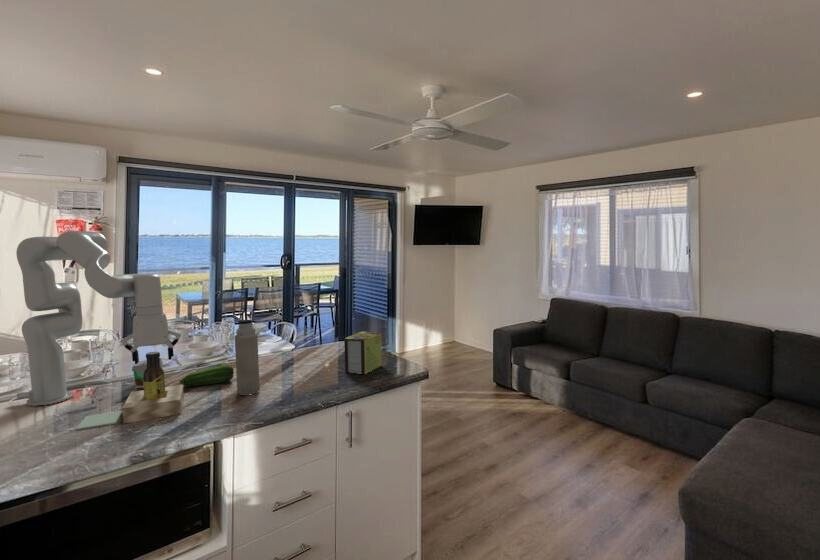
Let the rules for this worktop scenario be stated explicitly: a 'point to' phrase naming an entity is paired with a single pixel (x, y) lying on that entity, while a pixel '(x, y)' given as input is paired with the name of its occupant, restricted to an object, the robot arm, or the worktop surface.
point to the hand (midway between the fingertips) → (153, 360)
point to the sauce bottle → (153, 378)
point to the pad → (100, 420)
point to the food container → (141, 374)
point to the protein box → (362, 352)
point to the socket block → (153, 405)
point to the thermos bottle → (247, 358)
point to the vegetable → (209, 376)
